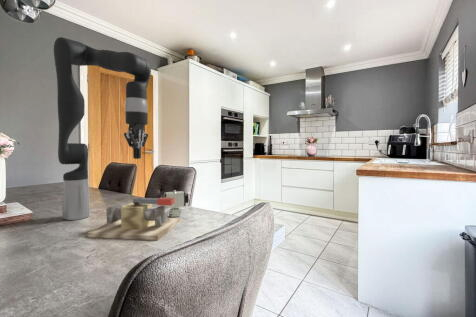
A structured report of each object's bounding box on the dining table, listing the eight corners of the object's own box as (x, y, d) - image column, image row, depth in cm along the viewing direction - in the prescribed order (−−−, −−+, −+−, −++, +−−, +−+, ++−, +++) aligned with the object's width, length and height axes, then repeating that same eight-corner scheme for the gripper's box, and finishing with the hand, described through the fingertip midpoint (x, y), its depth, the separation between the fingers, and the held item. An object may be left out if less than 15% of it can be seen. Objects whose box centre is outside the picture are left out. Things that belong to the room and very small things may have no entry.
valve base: (87, 236, 83) (86, 208, 82) (122, 219, 102) (121, 196, 102) (158, 240, 79) (157, 210, 79) (180, 221, 99) (179, 198, 99)
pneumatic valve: (188, 216, 107) (188, 189, 107) (161, 219, 103) (161, 191, 102) (187, 213, 112) (186, 188, 112) (161, 215, 108) (160, 189, 108)
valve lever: (131, 204, 88) (130, 198, 88) (135, 202, 91) (135, 196, 91) (171, 205, 86) (171, 199, 86) (174, 203, 89) (174, 197, 89)
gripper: (136, 109, 80) (137, 160, 81) (154, 113, 93) (154, 157, 94) (115, 109, 81) (116, 159, 82) (136, 113, 94) (137, 157, 95)
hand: (137, 158), depth 88 cm, fingers closed
